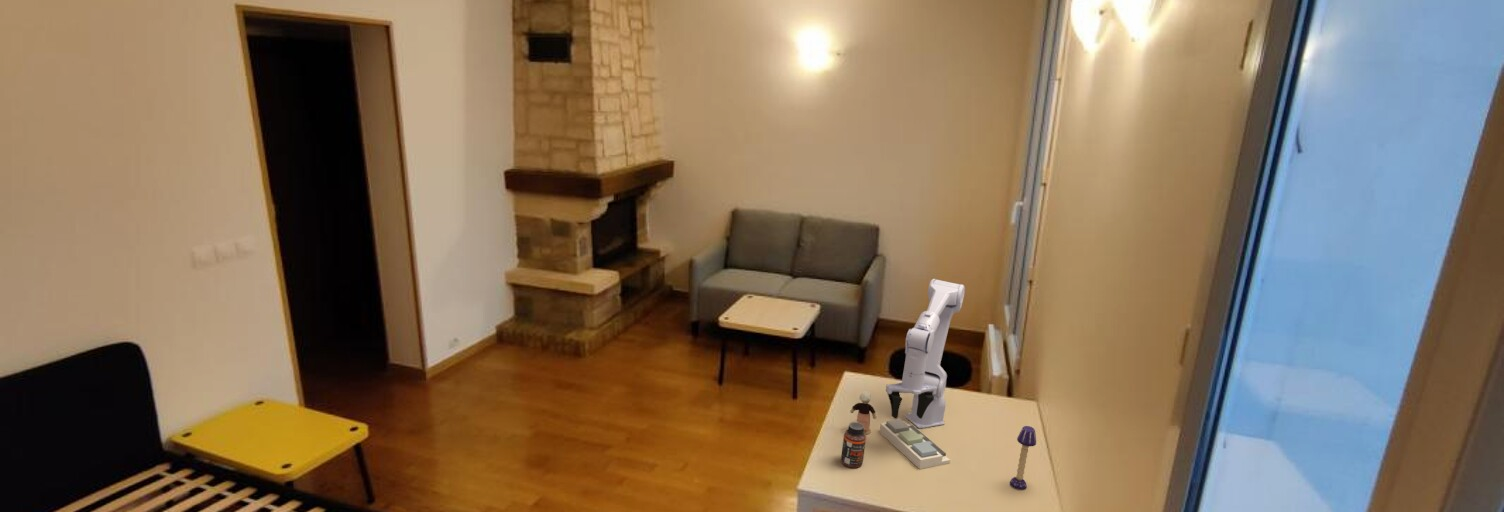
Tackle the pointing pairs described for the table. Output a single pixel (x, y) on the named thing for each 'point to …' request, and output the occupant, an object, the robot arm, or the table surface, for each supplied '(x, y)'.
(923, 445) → the slate key
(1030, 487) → the table surface
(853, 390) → the table surface
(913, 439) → the sage key
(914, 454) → the keypad
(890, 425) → the grey key
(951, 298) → the robot arm
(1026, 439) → the toy lamp
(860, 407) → the grandmother figurine
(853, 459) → the supplement bottle
